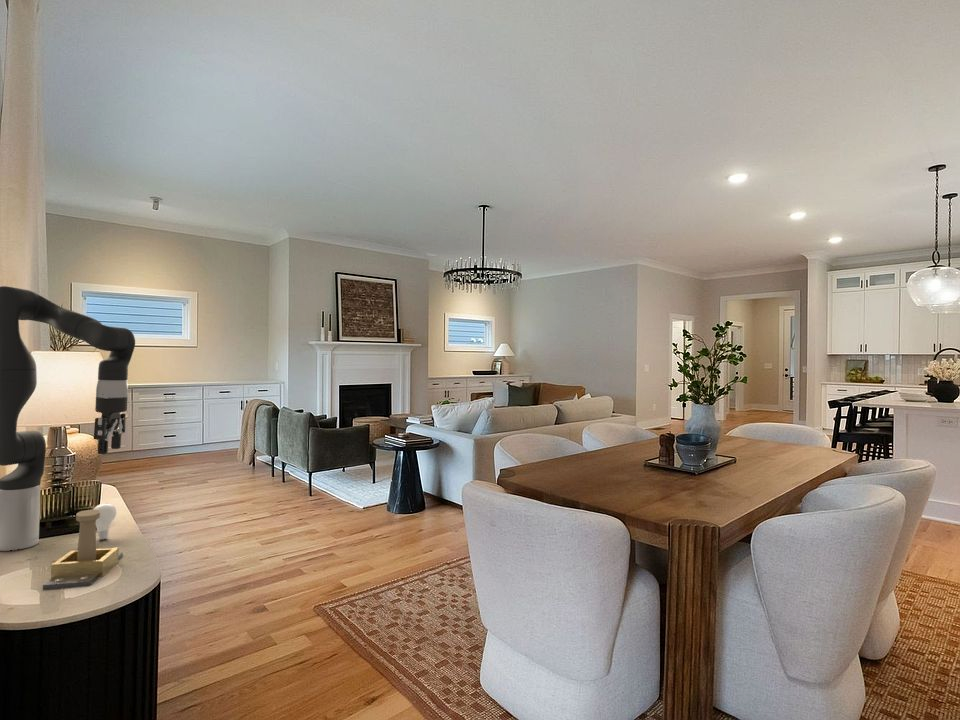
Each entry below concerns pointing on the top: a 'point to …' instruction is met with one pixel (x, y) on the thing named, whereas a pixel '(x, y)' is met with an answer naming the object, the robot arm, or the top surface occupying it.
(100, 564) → the wooden frame on plate
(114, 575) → the top surface
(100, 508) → the lightbulb
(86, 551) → the handle
